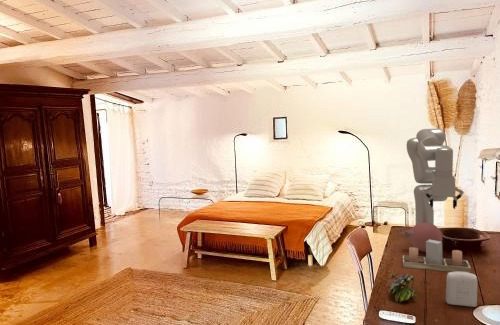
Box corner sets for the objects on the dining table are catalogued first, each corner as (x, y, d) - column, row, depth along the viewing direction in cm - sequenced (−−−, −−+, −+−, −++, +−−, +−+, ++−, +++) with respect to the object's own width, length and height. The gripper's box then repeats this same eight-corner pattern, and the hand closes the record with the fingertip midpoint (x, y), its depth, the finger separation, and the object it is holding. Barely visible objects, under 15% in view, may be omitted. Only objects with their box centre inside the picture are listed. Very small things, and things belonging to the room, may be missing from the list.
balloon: (400, 245, 210) (400, 217, 208) (440, 247, 202) (440, 219, 201) (400, 254, 195) (400, 225, 194) (443, 257, 188) (443, 227, 187)
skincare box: (443, 266, 177) (443, 241, 176) (438, 269, 174) (438, 243, 173) (429, 263, 182) (429, 238, 181) (425, 265, 179) (425, 240, 178)
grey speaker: (475, 302, 142) (475, 270, 141) (478, 308, 138) (479, 275, 136) (445, 300, 145) (445, 268, 144) (447, 305, 141) (447, 273, 140)
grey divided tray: (402, 260, 187) (402, 244, 186) (467, 265, 177) (467, 248, 176) (402, 267, 178) (402, 250, 178) (470, 273, 168) (470, 255, 167)
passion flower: (394, 306, 152) (395, 276, 158) (423, 308, 146) (422, 277, 151) (384, 300, 145) (384, 269, 151) (413, 302, 138) (413, 269, 144)
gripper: (424, 174, 182) (423, 208, 185) (465, 174, 175) (464, 210, 178) (423, 171, 189) (423, 204, 191) (463, 172, 182) (462, 206, 185)
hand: (442, 207), depth 185 cm, fingers open, 9 cm apart
